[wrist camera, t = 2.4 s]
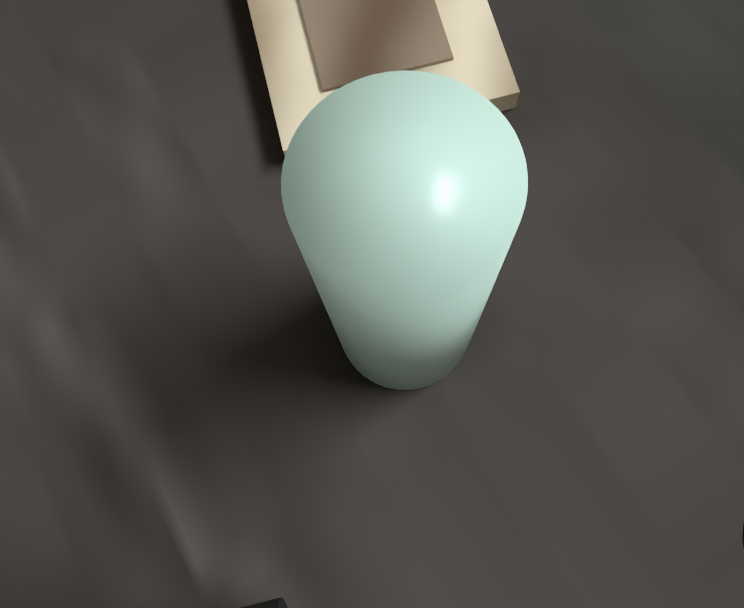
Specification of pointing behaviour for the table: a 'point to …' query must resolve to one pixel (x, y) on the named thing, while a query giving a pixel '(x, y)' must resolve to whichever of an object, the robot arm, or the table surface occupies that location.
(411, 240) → the tube
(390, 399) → the table surface
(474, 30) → the board
